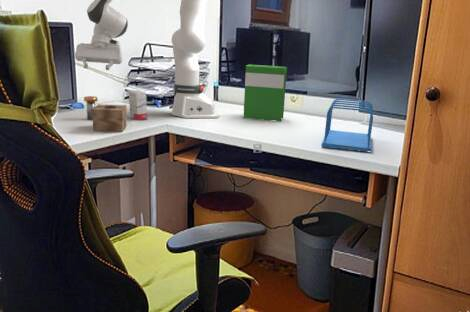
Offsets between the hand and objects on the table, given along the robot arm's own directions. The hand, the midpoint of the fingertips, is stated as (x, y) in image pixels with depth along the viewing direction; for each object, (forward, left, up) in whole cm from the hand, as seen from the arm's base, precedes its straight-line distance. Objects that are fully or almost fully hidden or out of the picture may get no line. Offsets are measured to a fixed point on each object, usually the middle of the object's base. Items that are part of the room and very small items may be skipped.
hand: (96, 68), depth 208 cm
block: (-11, +29, -20) cm, 37 cm away
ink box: (-19, +7, -20) cm, 29 cm away
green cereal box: (-76, -2, -20) cm, 79 cm away
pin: (0, +12, -20) cm, 24 cm away
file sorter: (-102, +42, -21) cm, 113 cm away
